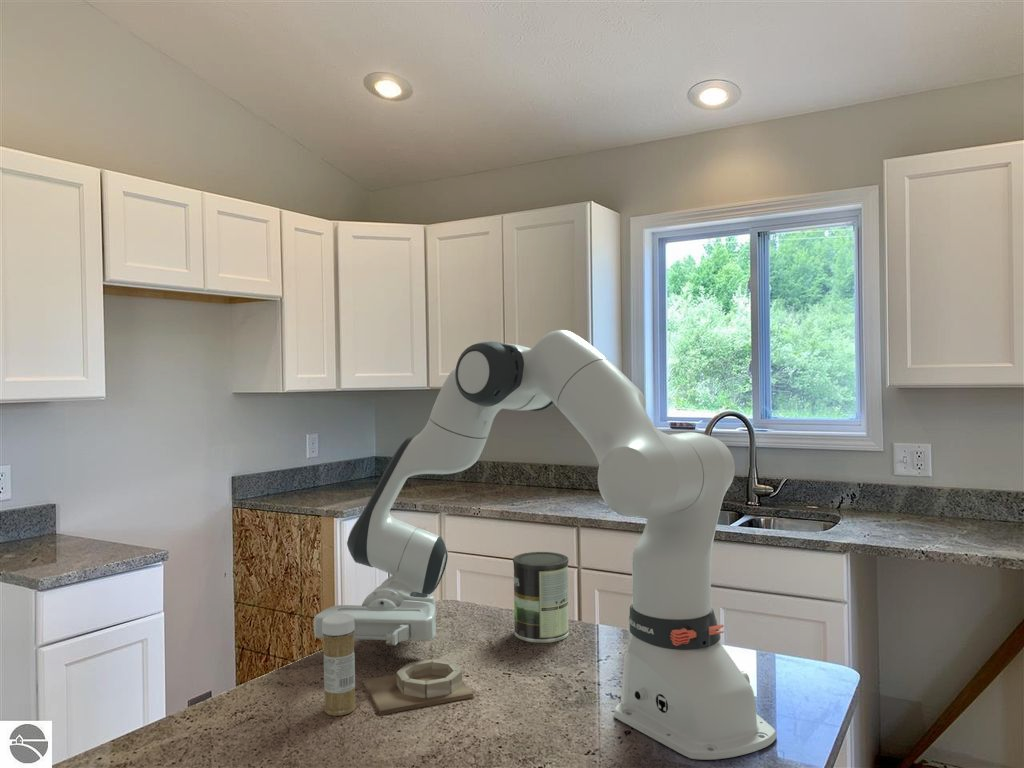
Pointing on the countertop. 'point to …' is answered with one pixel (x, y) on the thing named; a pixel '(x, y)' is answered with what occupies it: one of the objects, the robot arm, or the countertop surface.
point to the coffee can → (541, 597)
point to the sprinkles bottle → (339, 664)
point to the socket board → (407, 702)
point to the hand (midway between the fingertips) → (361, 639)
